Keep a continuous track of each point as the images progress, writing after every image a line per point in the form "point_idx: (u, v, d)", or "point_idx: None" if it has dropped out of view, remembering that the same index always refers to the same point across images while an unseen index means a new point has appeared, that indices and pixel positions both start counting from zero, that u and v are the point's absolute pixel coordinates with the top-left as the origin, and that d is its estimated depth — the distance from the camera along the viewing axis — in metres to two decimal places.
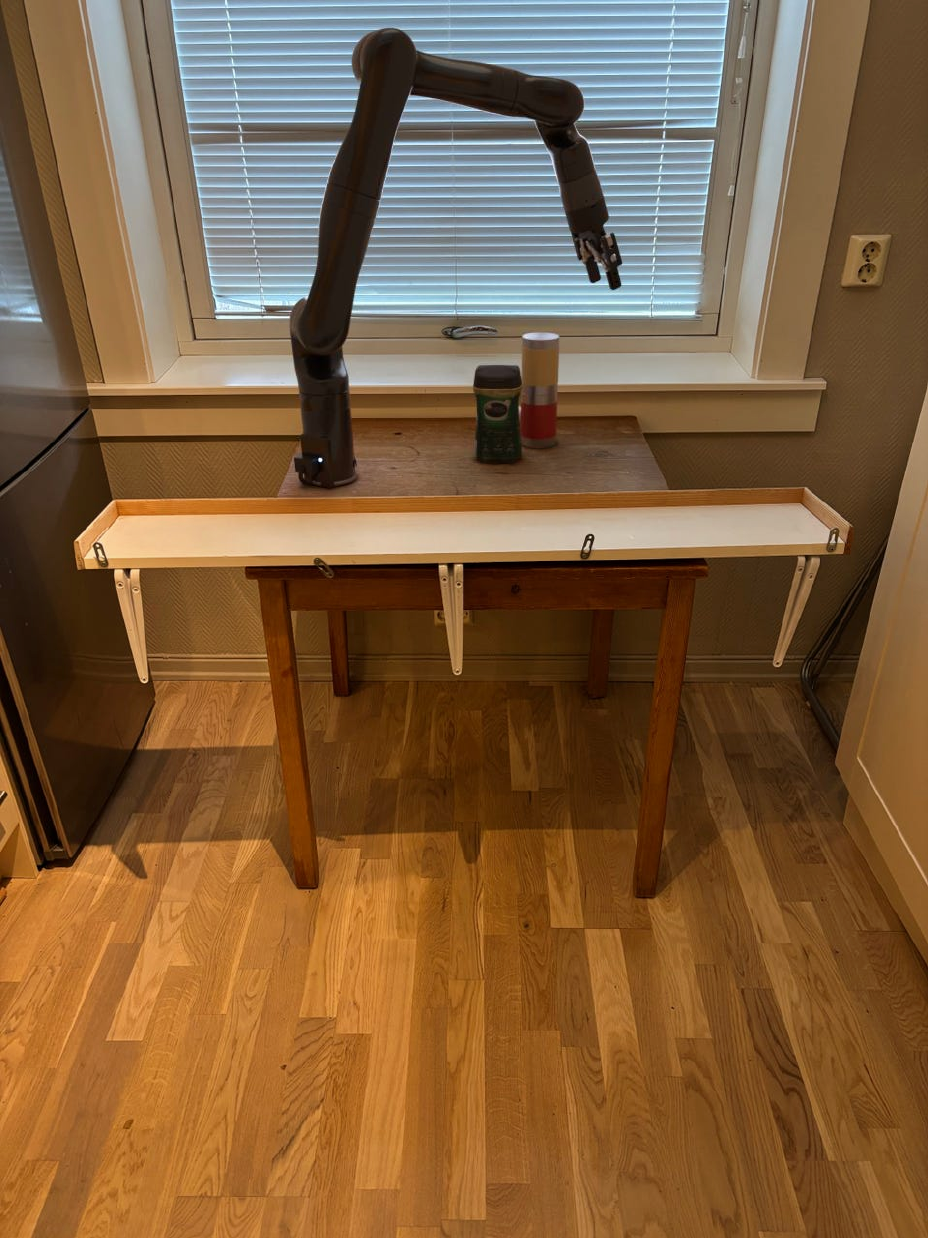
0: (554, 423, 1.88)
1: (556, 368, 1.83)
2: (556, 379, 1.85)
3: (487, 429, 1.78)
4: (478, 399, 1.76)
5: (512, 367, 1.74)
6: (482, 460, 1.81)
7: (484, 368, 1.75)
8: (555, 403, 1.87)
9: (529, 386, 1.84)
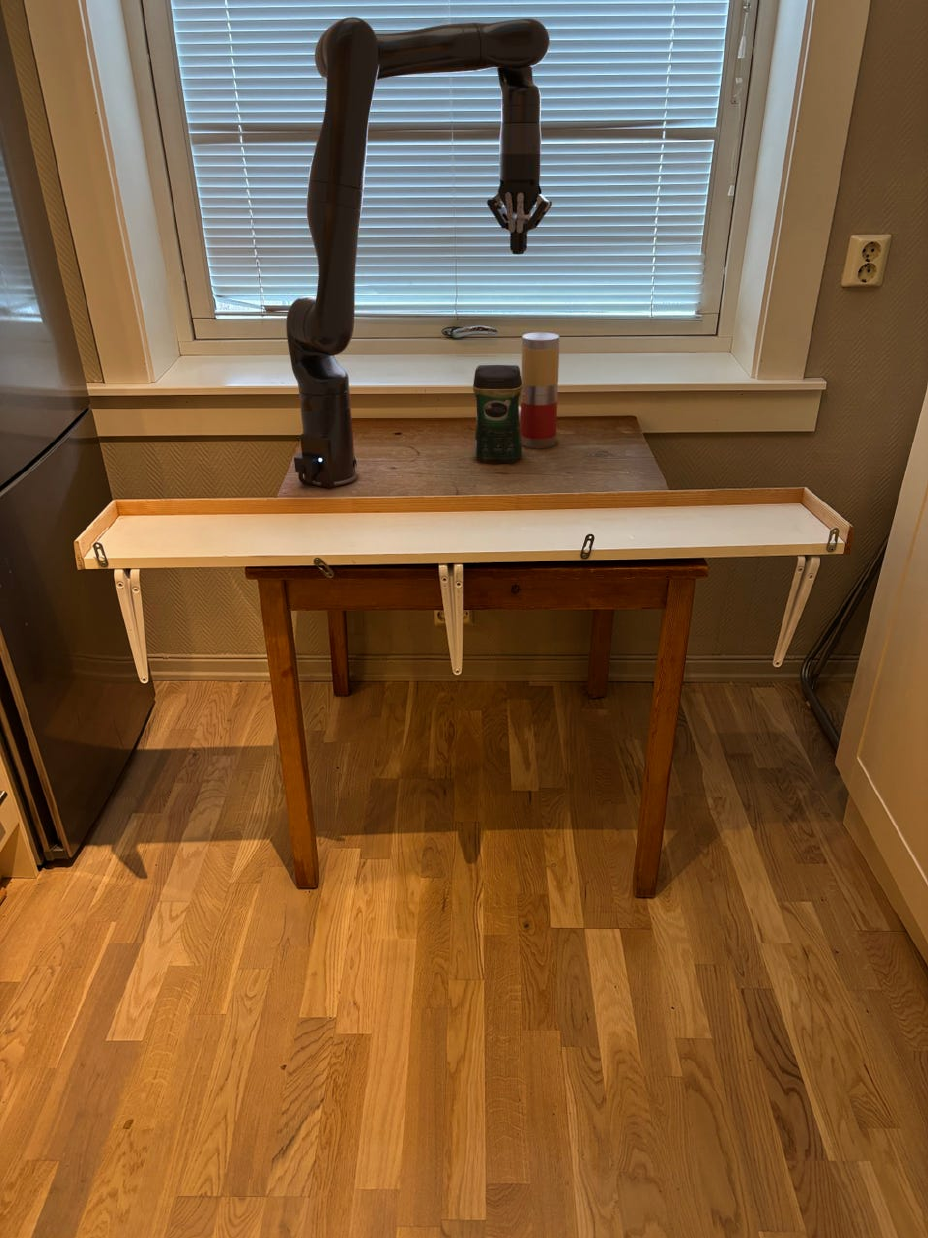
0: (554, 423, 1.88)
1: (556, 368, 1.83)
2: (556, 379, 1.85)
3: (487, 429, 1.78)
4: (478, 399, 1.76)
5: (512, 367, 1.74)
6: (482, 460, 1.81)
7: (484, 368, 1.75)
8: (555, 403, 1.87)
9: (529, 386, 1.84)
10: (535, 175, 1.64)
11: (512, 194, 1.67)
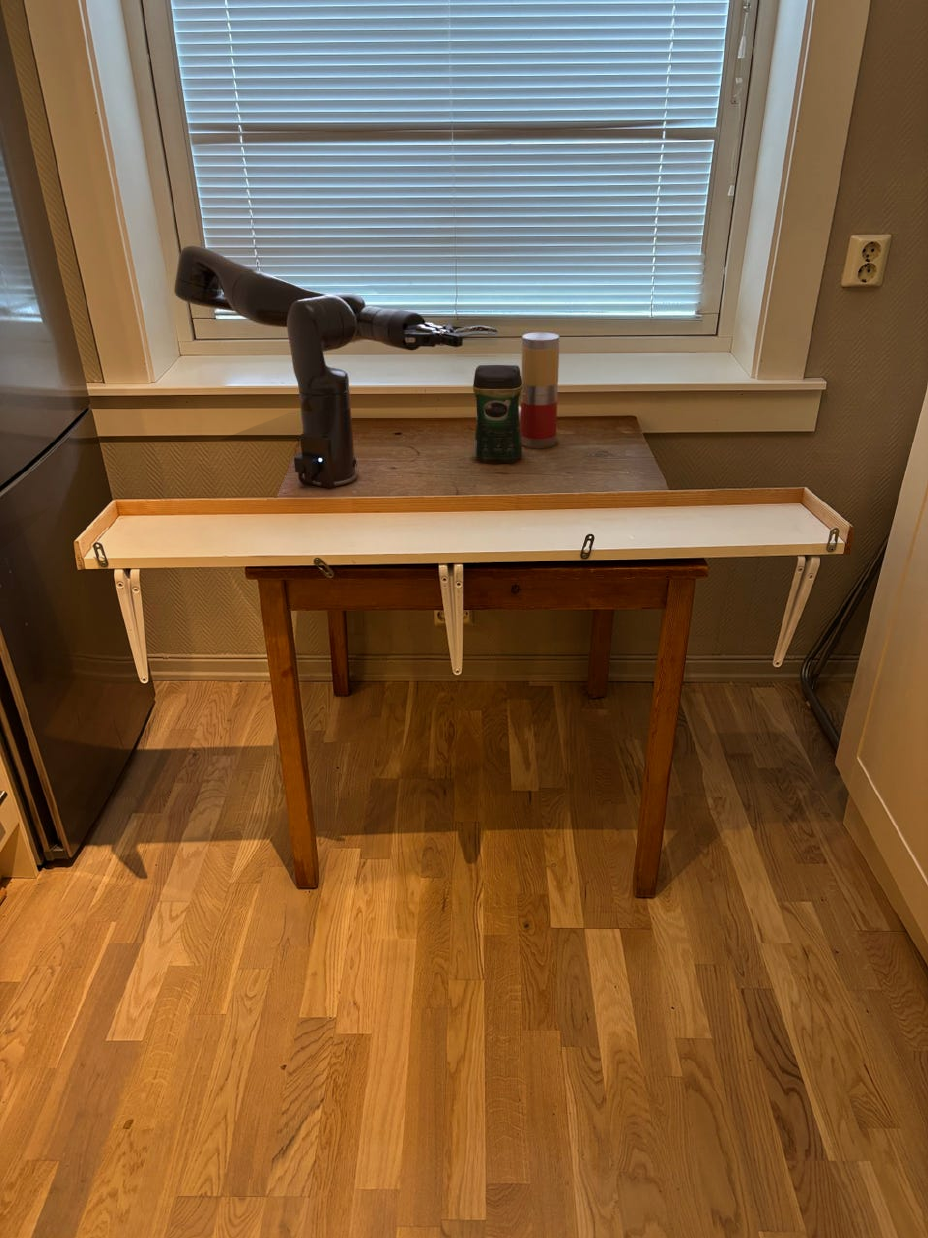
0: (554, 423, 1.88)
1: (556, 368, 1.83)
2: (556, 379, 1.85)
3: (487, 429, 1.78)
4: (478, 399, 1.76)
5: (512, 367, 1.74)
6: (482, 460, 1.81)
7: (484, 368, 1.75)
8: (555, 403, 1.87)
9: (529, 386, 1.84)
10: None
11: None
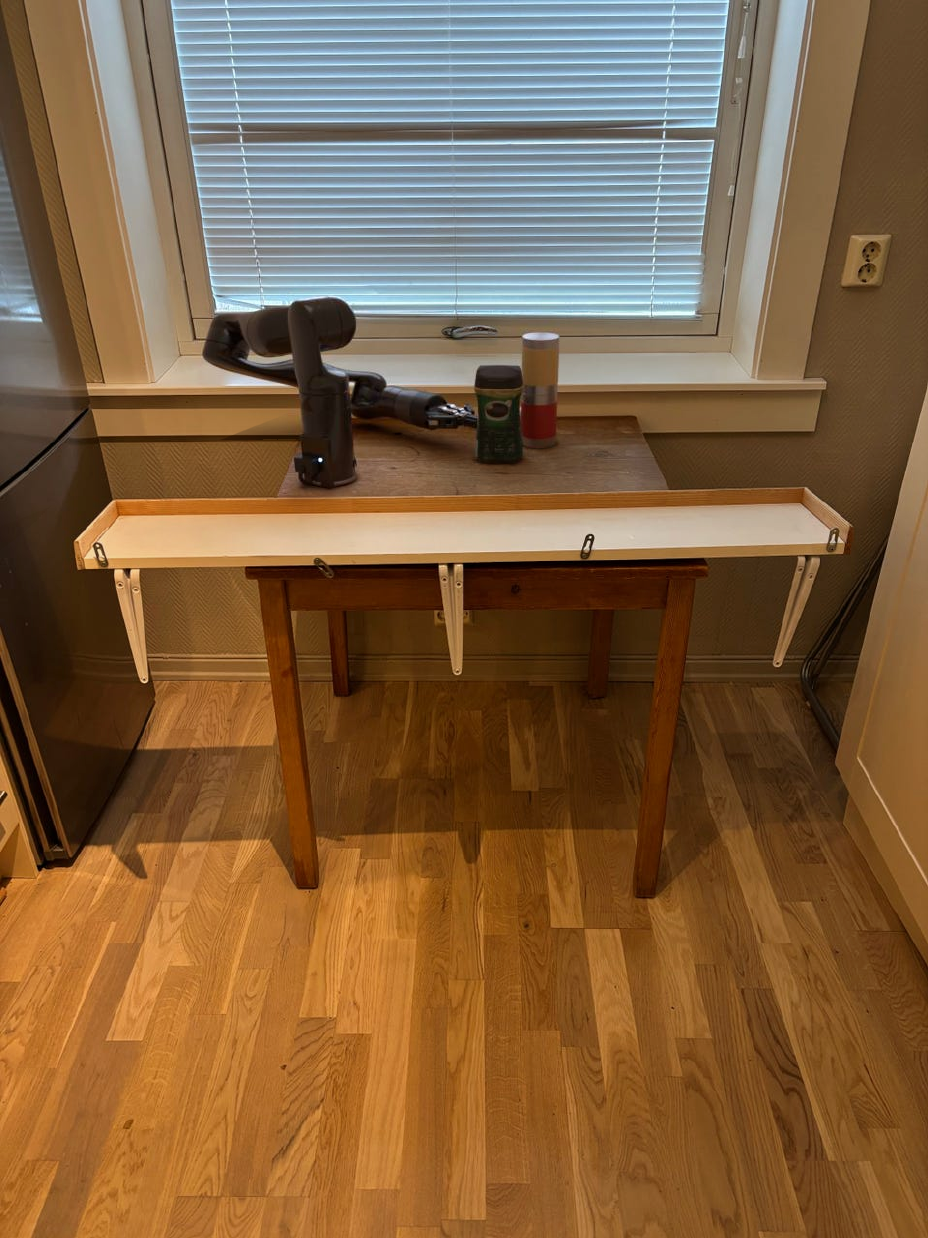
0: (554, 423, 1.88)
1: (556, 368, 1.83)
2: (556, 379, 1.85)
3: (488, 429, 1.77)
4: (479, 399, 1.76)
5: (513, 367, 1.74)
6: (483, 460, 1.81)
7: (485, 368, 1.74)
8: (555, 403, 1.87)
9: (529, 386, 1.84)
10: None
11: None
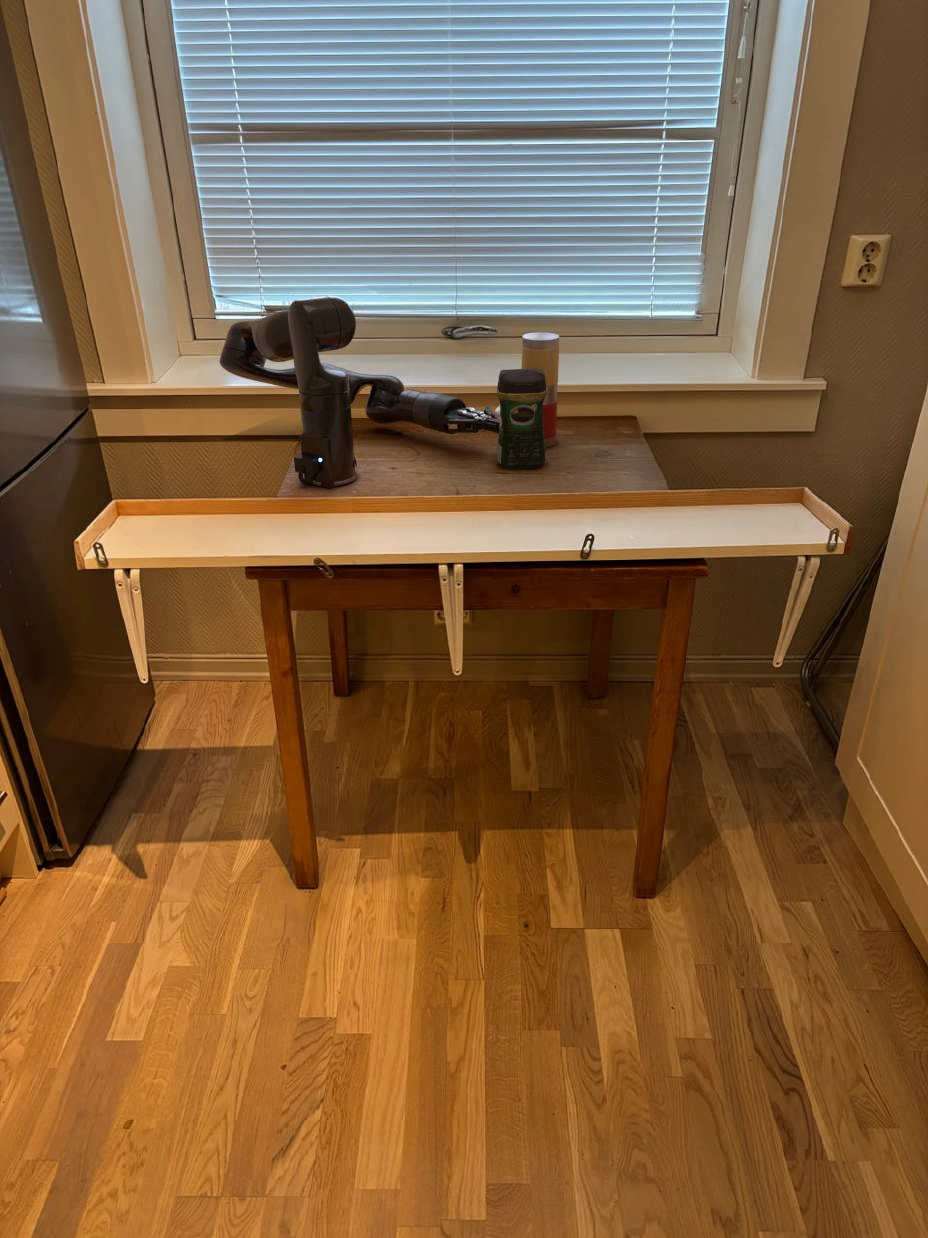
0: (554, 423, 1.88)
1: (556, 368, 1.83)
2: (556, 379, 1.85)
3: (513, 434, 1.74)
4: (504, 404, 1.73)
5: (537, 371, 1.72)
6: (507, 466, 1.78)
7: (509, 372, 1.71)
8: (555, 403, 1.87)
9: None
10: None
11: None
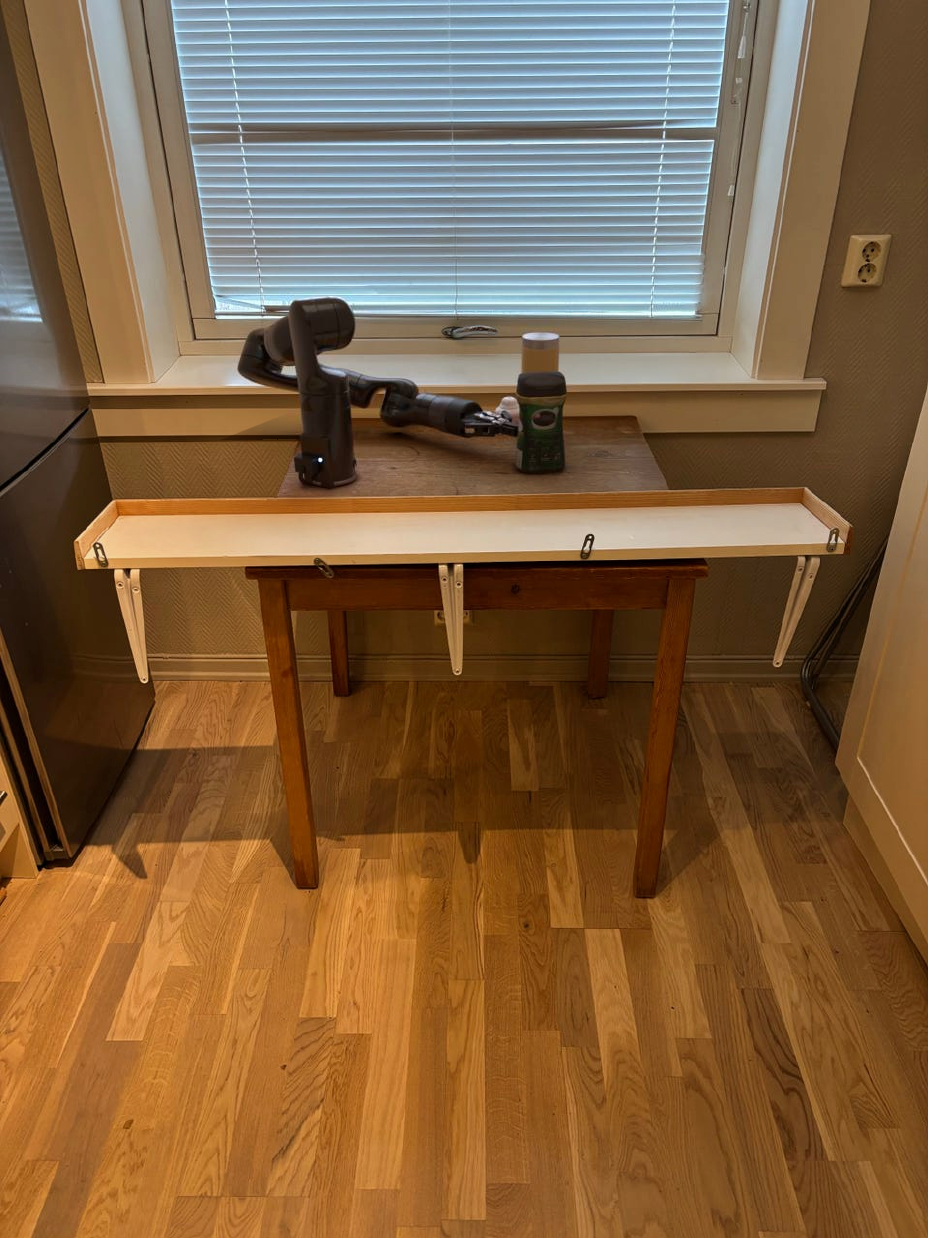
0: None
1: (556, 368, 1.83)
2: None
3: (534, 438, 1.72)
4: (525, 408, 1.70)
5: (557, 374, 1.70)
6: (528, 471, 1.75)
7: (530, 376, 1.69)
8: None
9: None
10: None
11: None
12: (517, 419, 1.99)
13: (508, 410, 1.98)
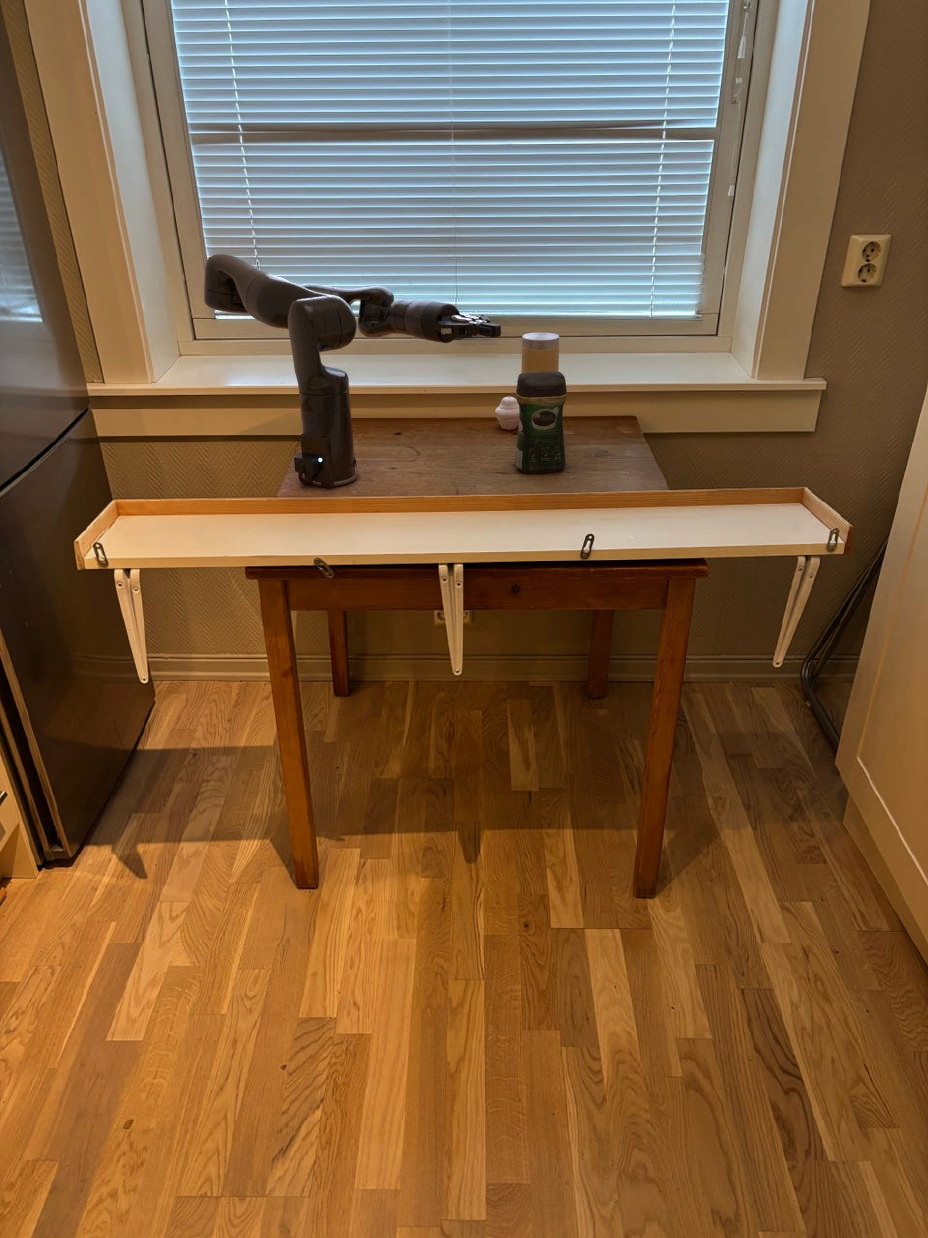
0: None
1: (556, 368, 1.83)
2: None
3: (534, 438, 1.72)
4: (525, 408, 1.70)
5: (557, 374, 1.70)
6: (528, 471, 1.75)
7: (529, 376, 1.69)
8: None
9: None
10: None
11: None
12: (517, 419, 1.99)
13: (508, 410, 1.98)
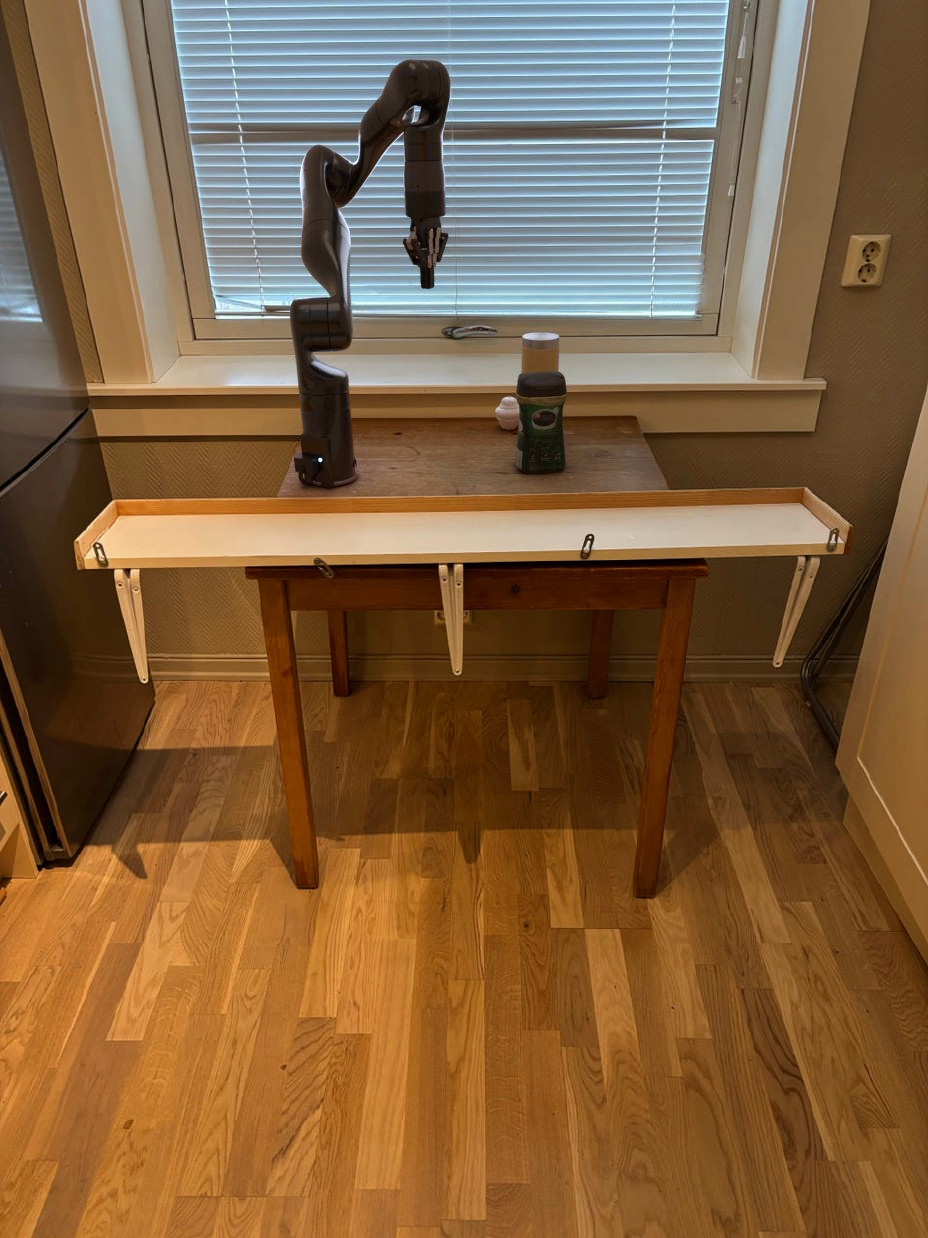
0: None
1: (556, 368, 1.83)
2: None
3: (534, 438, 1.72)
4: (525, 408, 1.70)
5: (557, 374, 1.70)
6: (528, 471, 1.75)
7: (530, 376, 1.69)
8: None
9: None
10: (410, 212, 1.65)
11: None
12: (517, 419, 1.99)
13: (508, 410, 1.98)
